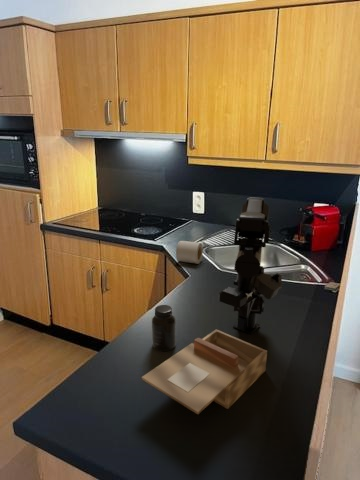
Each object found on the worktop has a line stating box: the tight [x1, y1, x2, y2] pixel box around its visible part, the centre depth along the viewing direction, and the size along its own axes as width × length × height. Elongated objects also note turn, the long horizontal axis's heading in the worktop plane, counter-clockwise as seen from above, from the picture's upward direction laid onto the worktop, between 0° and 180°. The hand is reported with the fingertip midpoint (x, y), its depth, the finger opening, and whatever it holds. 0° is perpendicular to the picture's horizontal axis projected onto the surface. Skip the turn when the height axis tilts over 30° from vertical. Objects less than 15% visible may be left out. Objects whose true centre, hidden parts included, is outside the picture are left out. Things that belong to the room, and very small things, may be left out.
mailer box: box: [202, 328, 268, 410], centre depth 91 cm, size 18×16×6 cm
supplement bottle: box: [151, 304, 177, 352], centre depth 102 cm, size 7×7×12 cm
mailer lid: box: [141, 337, 245, 415], centre depth 81 cm, size 18×16×3 cm
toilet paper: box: [175, 240, 204, 265], centre depth 171 cm, size 10×10×10 cm
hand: (245, 316), depth 96 cm, fingers closed
